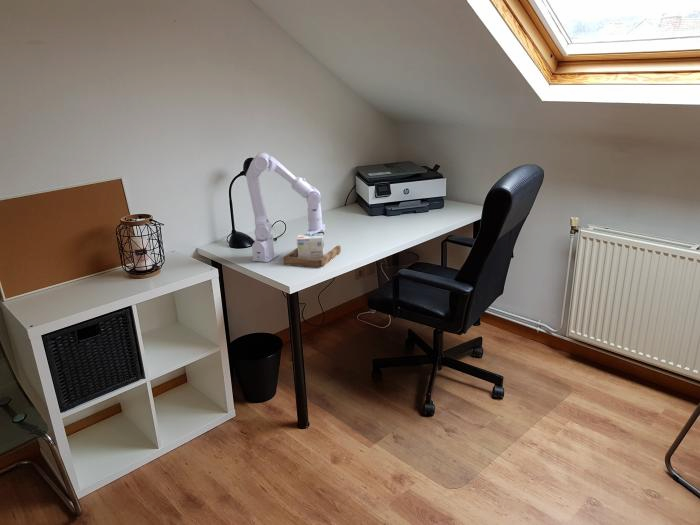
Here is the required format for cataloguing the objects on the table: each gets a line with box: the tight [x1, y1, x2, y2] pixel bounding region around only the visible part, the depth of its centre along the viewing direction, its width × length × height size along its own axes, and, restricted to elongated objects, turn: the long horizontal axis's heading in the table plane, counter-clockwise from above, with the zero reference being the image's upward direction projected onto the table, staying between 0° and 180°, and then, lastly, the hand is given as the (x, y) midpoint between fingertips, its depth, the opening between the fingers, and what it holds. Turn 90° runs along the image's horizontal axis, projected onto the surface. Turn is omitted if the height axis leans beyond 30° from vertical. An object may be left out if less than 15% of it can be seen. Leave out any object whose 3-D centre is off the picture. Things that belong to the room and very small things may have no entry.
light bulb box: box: [296, 233, 326, 259], centre depth 239 cm, size 11×7×11 cm, turn 90°
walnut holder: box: [282, 244, 342, 268], centre depth 243 cm, size 20×17×3 cm
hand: (317, 249), depth 246 cm, fingers closed
